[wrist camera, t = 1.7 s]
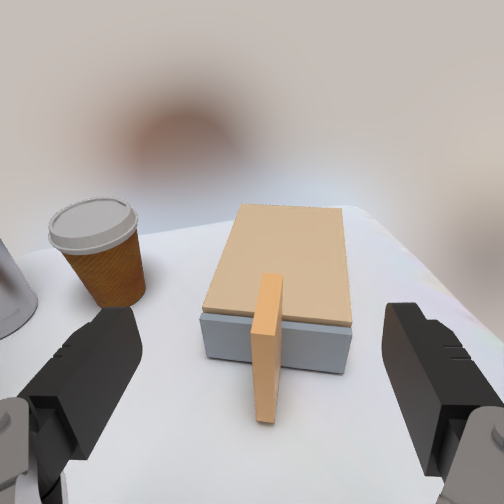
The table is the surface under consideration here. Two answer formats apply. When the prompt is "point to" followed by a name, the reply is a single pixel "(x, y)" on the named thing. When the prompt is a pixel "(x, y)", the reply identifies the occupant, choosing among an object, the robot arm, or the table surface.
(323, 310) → the box lid
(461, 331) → the table surface
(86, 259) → the disposable coffee cup
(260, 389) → the grey box
